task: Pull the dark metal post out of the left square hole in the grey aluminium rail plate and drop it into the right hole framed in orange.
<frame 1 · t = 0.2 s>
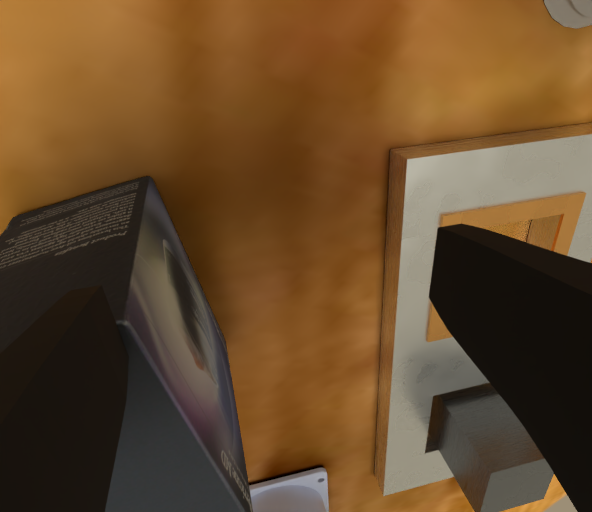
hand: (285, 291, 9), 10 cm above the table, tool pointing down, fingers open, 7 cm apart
small box: (138, 286, 20), on the table, touching gripper
post: (453, 395, 30), resting in rail plate
rail plate: (465, 333, 27), on the table
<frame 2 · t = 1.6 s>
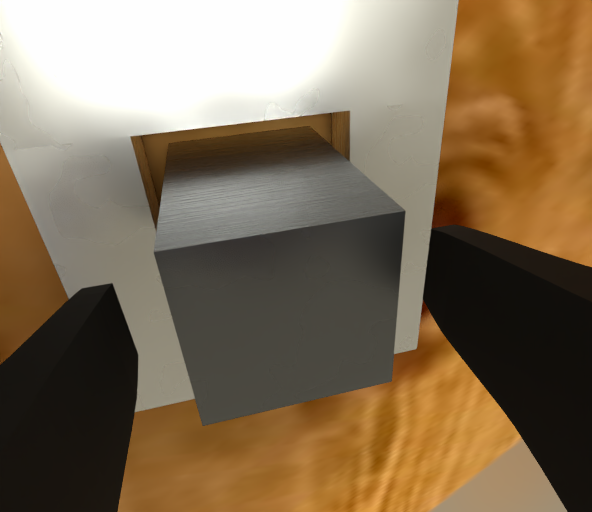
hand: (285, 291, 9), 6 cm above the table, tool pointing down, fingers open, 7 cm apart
post: (249, 199, 14), resting in rail plate
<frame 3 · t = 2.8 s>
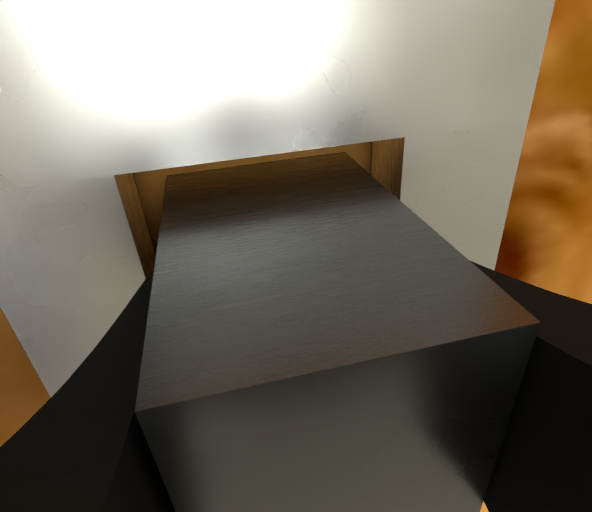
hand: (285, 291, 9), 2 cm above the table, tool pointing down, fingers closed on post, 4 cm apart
post: (267, 241, 11), resting in rail plate, touching gripper
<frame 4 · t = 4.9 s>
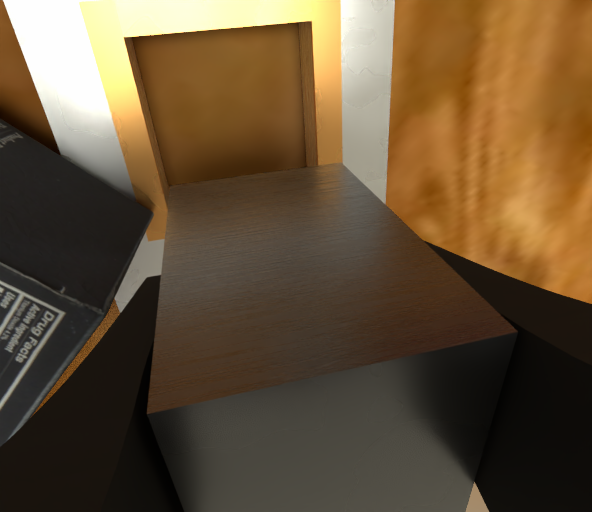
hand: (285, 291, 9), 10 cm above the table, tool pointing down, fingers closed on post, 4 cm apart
post: (267, 248, 12), point 7 cm above the table, touching gripper
rail plate: (249, 244, 19), on the table
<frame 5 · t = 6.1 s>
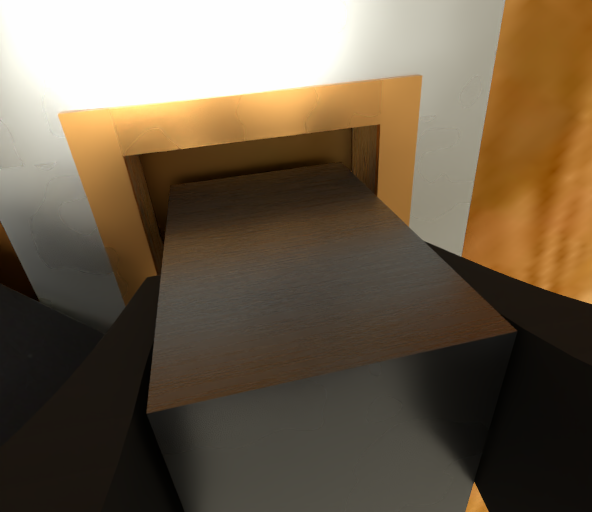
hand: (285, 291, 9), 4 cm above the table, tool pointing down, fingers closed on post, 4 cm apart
post: (267, 247, 12), point 1 cm above the table, touching gripper
rail plate: (276, 359, 16), on the table
when the fingers open (3 cm above the table, at t = 7.1 s): post stays where it is, resting in rail plate.
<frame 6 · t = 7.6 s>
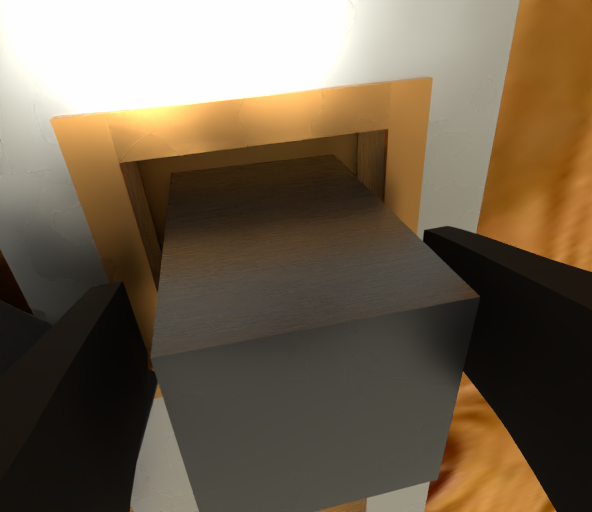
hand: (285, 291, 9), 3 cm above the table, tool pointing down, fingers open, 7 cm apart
post: (262, 235, 12), resting in rail plate
rail plate: (278, 369, 15), on the table
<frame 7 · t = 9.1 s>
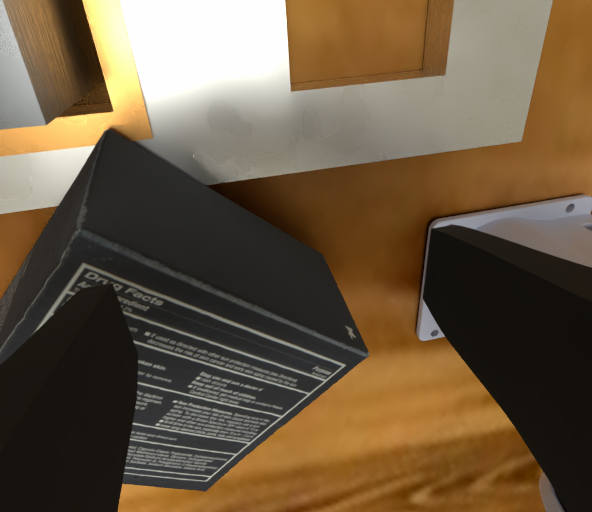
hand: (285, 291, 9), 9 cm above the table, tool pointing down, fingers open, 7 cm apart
small box: (98, 409, 18), point 3 cm above the table, touching rail plate
post: (9, 12, 13), resting in rail plate
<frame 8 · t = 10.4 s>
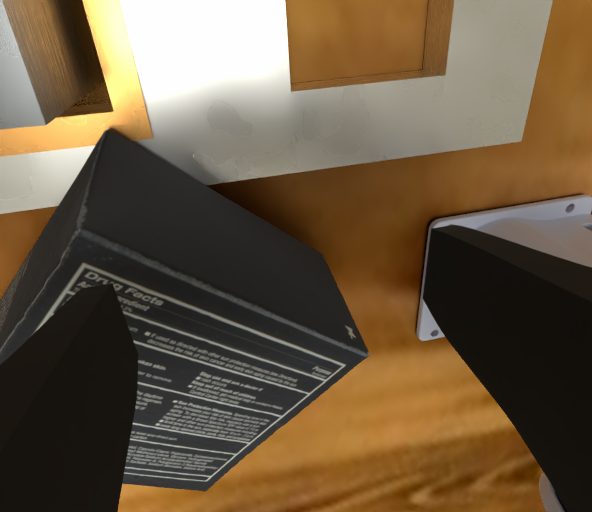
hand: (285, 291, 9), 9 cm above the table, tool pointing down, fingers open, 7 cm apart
small box: (98, 409, 18), point 3 cm above the table, touching rail plate
post: (9, 12, 13), resting in rail plate
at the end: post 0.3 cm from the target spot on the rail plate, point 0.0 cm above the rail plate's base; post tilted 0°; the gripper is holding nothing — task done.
